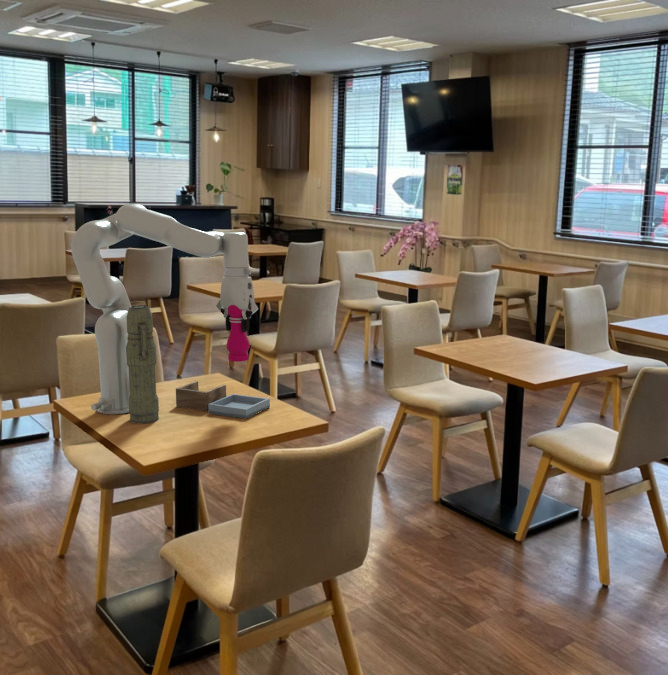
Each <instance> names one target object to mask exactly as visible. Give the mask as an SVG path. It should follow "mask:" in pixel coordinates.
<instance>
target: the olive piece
mask: <svg viewBox="0 0 668 675" xmlns="http://www.w3.org/2000/svg"><path fill="white" fill-rule="evenodd" d="M131 306H132V307H130V308H129V310H128V313H127V333H128V335H127V341H128V342H127V346H126V358H127V365H128V367H129V385H130V396H129V412H128V413H129V421H130V422H131V423H132V422H133V424H137V423H141V424H143V425H145V424H151V423H155V422H157V421H159V418H160V417H159V411H160V407H159V404H160V402H159V397H158V395H157V394H158V393H157V382H156V380H157V379H156V378H157V377H156V365H157V346H156V343H155V340H154V335H153V332H154V326H153V325H154V322H153V321H154V320H153V313H152V311H151V309H150V307H149V306H147V305H143V304H142V305H140V304H139V305H131Z"/></svg>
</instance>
